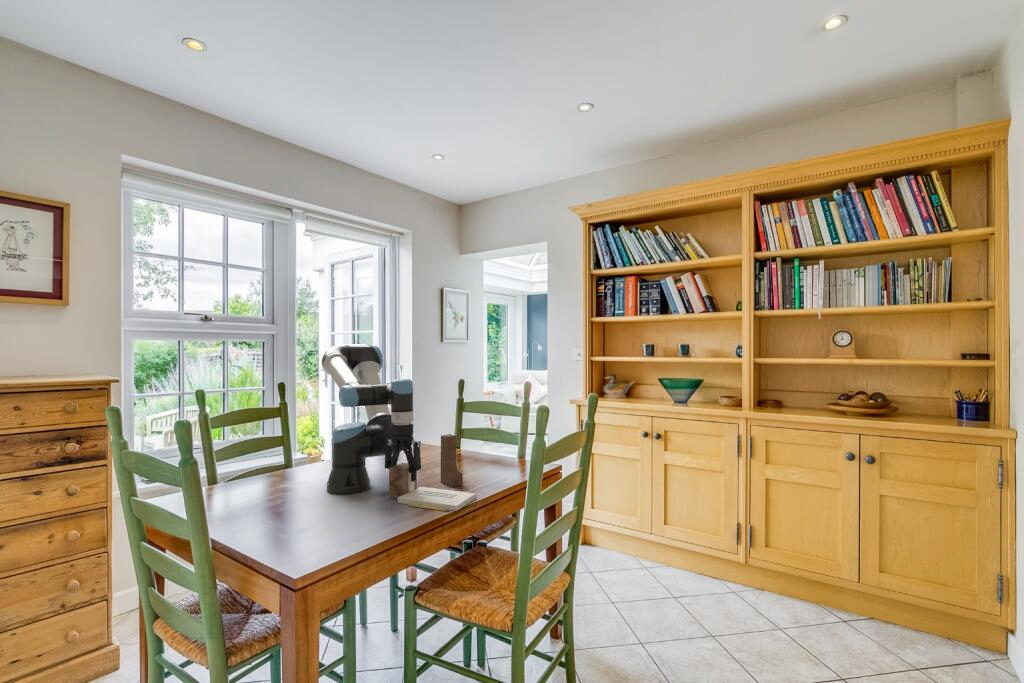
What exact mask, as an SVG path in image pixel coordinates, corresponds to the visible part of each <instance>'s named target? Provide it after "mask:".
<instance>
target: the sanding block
mask: <svg viewBox="0 0 1024 683" xmlns="http://www.w3.org/2000/svg"><path fill="white" fill-rule="evenodd" d="M409 471H410V469H409V465H408V462H401V463H397V465H395V466H393V467H390V468H389V469H388V497H389V498H395V499H398V497H400V496H402V495H404V494H406V493H408V472H409ZM417 472H418V471H416V481H414V488H415V489H417V488H418V486H417V485H418V484H417V483H418V482H417V480H418V478H417V477H418V476H417V475H418V474H417Z"/></svg>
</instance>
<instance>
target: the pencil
mask: <svg viewBox="0 0 1024 683" xmlns="http://www.w3.org/2000/svg"><path fill="white" fill-rule="evenodd" d="M408 507H414V508H420V509H426V510H427V509H428V510H435V511H441V512H450V510H449V509H445V508H438V507H431V506H424V505H416V504H408Z"/></svg>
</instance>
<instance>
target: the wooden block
mask: <svg viewBox="0 0 1024 683" xmlns="http://www.w3.org/2000/svg"><path fill="white" fill-rule="evenodd" d="M440 483H441V484H444V485H446V486H448V487H450V488H457V487H461V486H463V473H462V472H461V471H459V469H458V466H457V436H456V435H454V434H449V433H448V434H442V435H441V436H440Z"/></svg>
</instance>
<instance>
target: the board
mask: <svg viewBox="0 0 1024 683" xmlns="http://www.w3.org/2000/svg"><path fill="white" fill-rule="evenodd" d="M476 498H477V493H475V492H467V491H458V490H450V489H443V488H434V487H427V486H419V487H417V489H415V490H413V491H411V492H408V493H406V494H404V495H402V496H400V497H398V498H397V503H398V504H405V505H409V504H416V505H424V506H431V507H438V508H445V509H449V511H455V512H457V511H459V510H460V509H462V508H463V507H465V506H467V505H468V504H469V503H471V502H472V501H474V500H475V499H476Z"/></svg>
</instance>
